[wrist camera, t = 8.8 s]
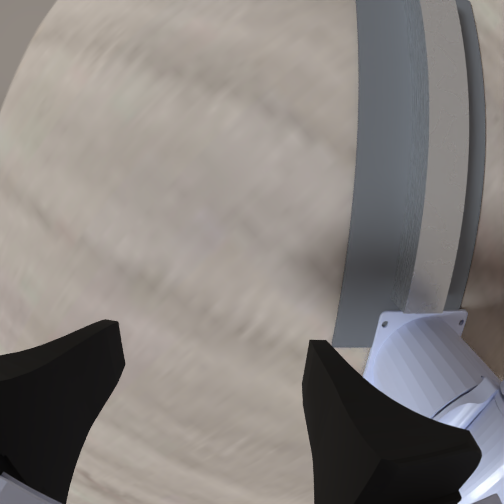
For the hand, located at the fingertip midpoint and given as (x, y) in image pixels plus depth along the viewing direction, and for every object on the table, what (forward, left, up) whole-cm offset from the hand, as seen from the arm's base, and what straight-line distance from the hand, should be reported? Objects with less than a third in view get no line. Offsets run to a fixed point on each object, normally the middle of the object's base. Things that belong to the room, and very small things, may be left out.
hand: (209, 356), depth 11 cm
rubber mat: (+9, -12, -9) cm, 18 cm away
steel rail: (+10, -12, -9) cm, 18 cm away
